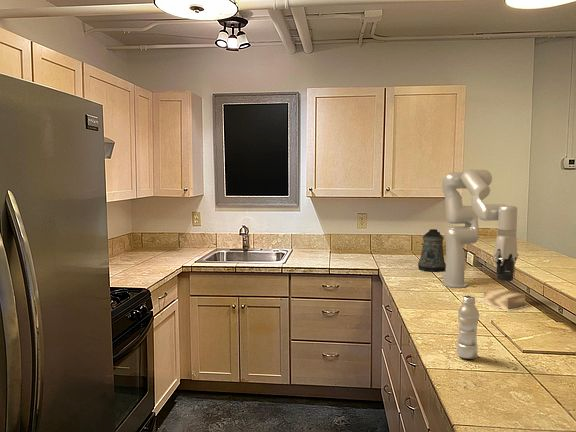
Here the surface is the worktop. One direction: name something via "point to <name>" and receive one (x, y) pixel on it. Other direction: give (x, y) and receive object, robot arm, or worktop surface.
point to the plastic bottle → (468, 329)
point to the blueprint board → (507, 309)
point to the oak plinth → (504, 298)
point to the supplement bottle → (507, 270)
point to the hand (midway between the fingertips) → (505, 272)
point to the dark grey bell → (432, 252)
